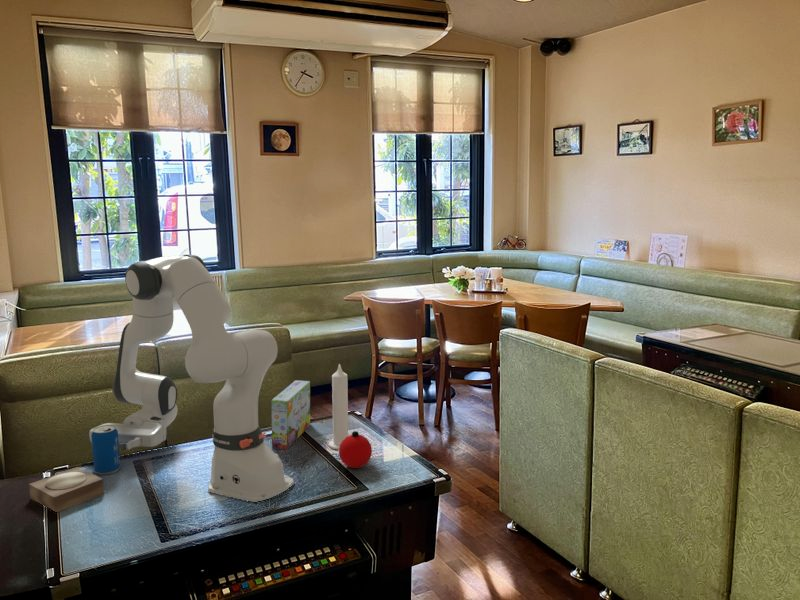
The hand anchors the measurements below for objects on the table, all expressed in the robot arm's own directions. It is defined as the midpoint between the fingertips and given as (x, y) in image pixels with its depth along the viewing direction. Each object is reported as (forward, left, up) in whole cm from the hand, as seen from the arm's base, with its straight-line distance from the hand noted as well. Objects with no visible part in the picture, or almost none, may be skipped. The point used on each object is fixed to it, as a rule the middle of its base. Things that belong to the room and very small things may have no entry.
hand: (109, 445), depth 173 cm
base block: (-7, +16, -6) cm, 18 cm away
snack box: (-24, -45, -7) cm, 52 cm away
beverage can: (-1, +2, -7) cm, 7 cm away
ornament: (-54, -39, -7) cm, 67 cm away
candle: (-41, -48, -7) cm, 64 cm away
